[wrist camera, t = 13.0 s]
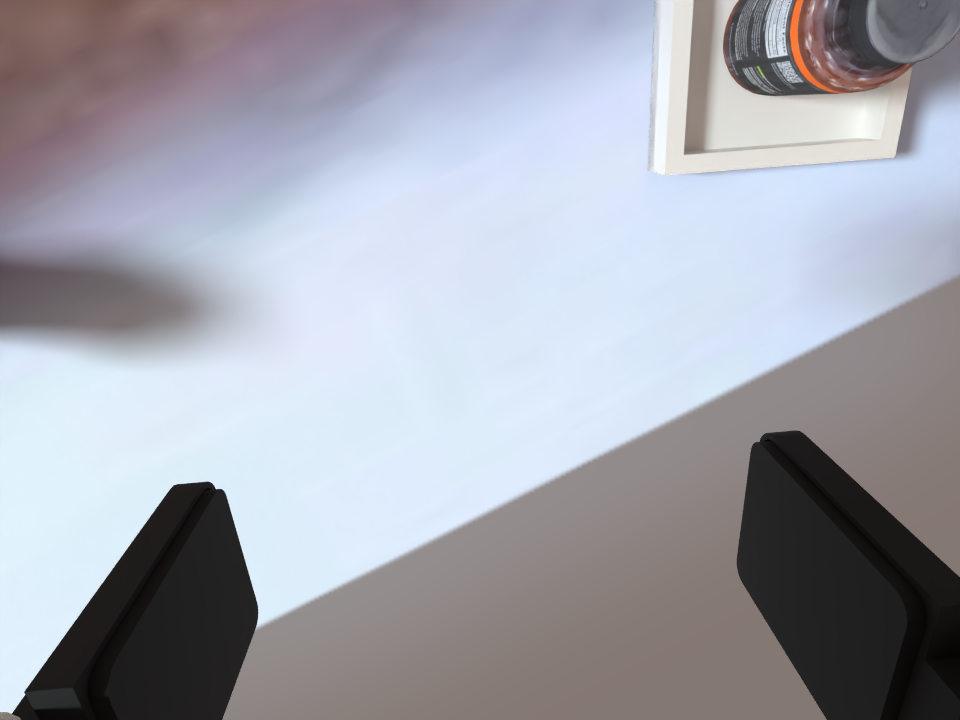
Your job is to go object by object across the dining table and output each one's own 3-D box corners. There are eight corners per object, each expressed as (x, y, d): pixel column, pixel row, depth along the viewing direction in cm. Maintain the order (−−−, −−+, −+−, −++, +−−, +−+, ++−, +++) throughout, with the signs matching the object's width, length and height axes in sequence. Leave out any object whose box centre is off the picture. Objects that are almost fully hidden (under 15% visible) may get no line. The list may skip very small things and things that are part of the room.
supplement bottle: (846, -9, 32) (1040, -63, 21) (796, 109, 34) (950, 111, 24) (745, -44, 31) (896, -118, 21) (700, 79, 33) (816, 68, 23)
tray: (658, -94, 31) (679, -113, 28) (906, -111, 31) (951, -132, 28) (648, 169, 36) (664, 175, 33) (860, 153, 36) (894, 157, 33)
